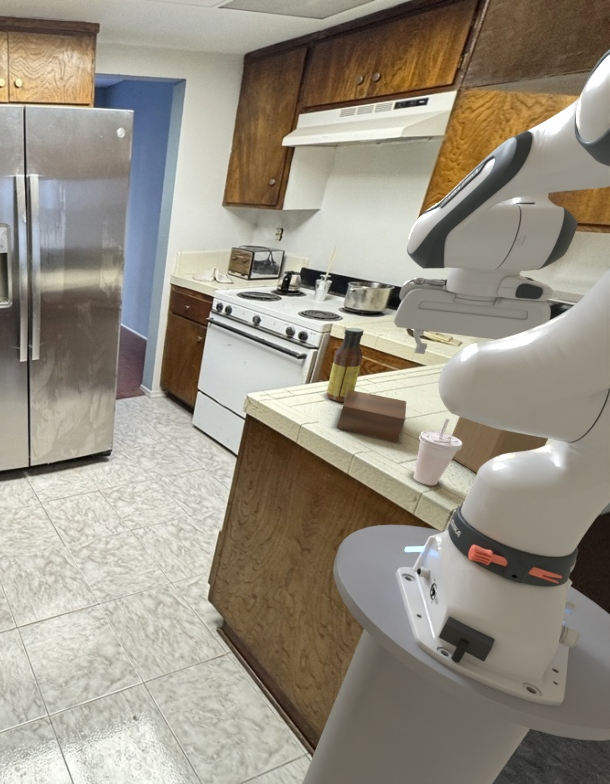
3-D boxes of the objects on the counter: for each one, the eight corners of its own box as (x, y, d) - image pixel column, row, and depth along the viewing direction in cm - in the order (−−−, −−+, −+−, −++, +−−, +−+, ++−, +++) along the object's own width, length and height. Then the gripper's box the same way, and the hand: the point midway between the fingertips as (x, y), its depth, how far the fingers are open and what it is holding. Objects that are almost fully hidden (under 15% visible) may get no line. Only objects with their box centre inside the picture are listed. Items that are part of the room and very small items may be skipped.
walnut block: (397, 442, 108) (405, 419, 106) (336, 427, 115) (342, 405, 112) (398, 422, 117) (406, 401, 114) (342, 410, 123) (348, 389, 121)
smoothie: (397, 475, 96) (420, 414, 90) (418, 468, 98) (441, 408, 92) (431, 492, 91) (458, 429, 85) (453, 485, 93) (480, 422, 87)
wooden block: (484, 451, 104) (521, 368, 95) (531, 477, 95) (577, 387, 86) (441, 454, 103) (475, 369, 95) (485, 480, 94) (527, 389, 86)
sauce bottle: (352, 397, 131) (372, 328, 123) (350, 405, 126) (371, 334, 118) (325, 391, 134) (343, 324, 126) (322, 399, 130) (341, 330, 122)
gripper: (404, 279, 85) (382, 351, 90) (567, 291, 73) (530, 374, 79) (405, 274, 89) (383, 343, 95) (558, 285, 78) (523, 363, 83)
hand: (451, 357), depth 87 cm, fingers open, 8 cm apart
